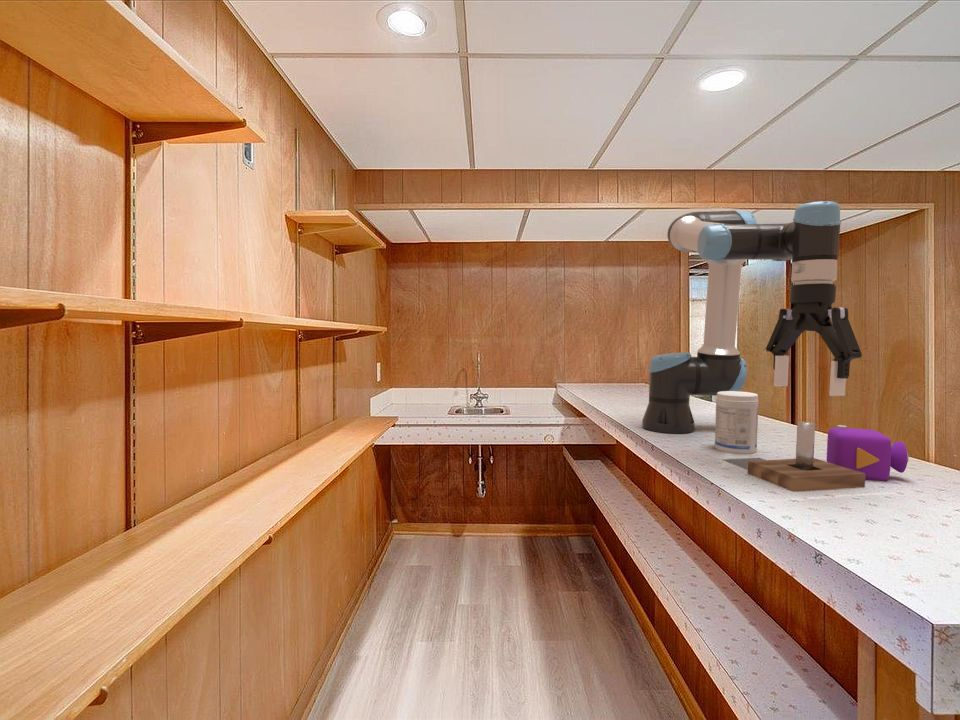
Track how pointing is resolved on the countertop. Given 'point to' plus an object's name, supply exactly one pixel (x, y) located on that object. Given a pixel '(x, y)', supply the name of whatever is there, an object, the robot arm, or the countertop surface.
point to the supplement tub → (736, 422)
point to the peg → (805, 445)
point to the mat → (742, 461)
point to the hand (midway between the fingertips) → (807, 390)
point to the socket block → (806, 475)
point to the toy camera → (865, 452)
